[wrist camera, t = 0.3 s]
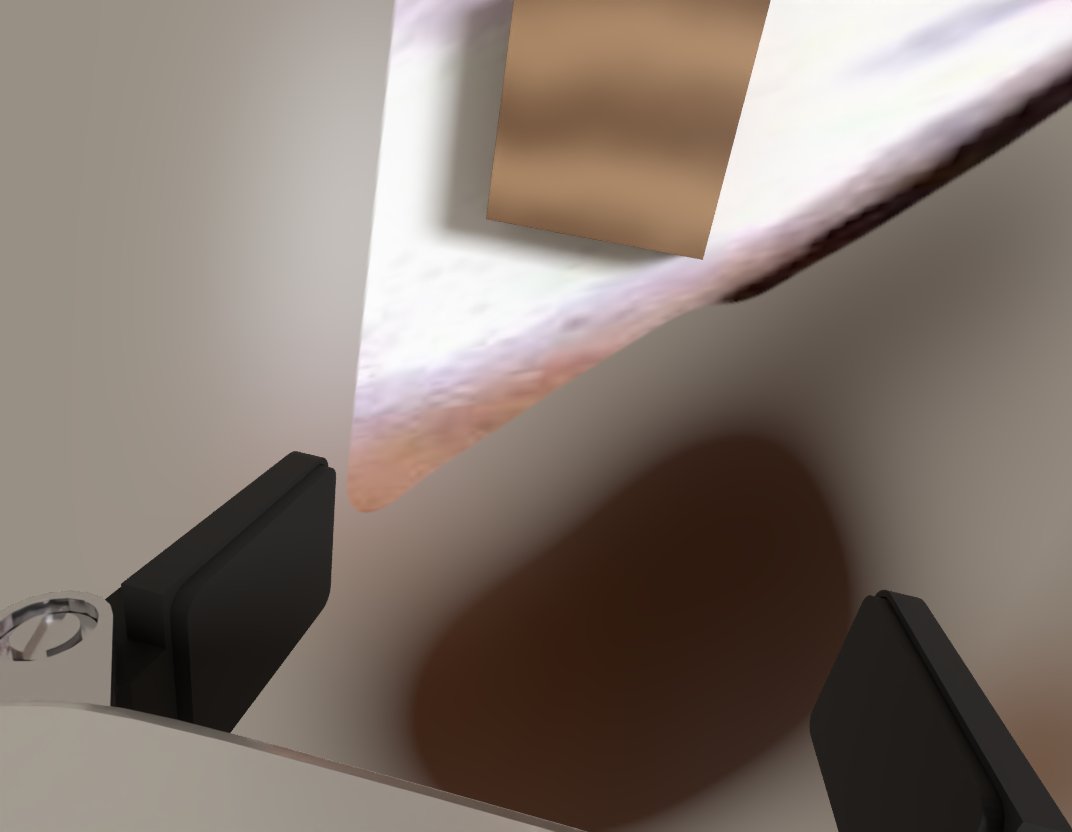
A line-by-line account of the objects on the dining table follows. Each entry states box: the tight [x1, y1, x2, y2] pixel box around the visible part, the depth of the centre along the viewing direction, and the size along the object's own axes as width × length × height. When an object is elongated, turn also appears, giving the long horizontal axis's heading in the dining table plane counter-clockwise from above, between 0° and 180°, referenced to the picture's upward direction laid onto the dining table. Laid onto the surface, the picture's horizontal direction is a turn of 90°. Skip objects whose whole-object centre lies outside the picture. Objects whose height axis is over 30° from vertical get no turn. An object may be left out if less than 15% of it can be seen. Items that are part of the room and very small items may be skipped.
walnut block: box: [486, 0, 770, 260], centre depth 33 cm, size 12×12×4 cm
